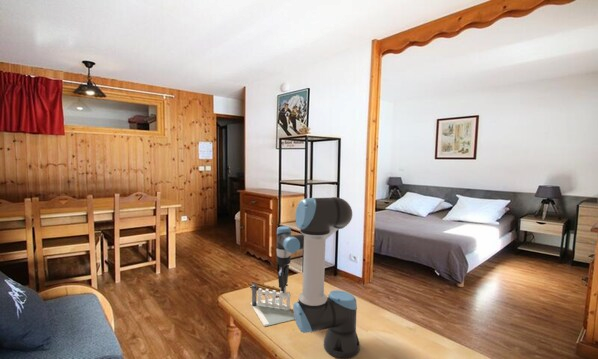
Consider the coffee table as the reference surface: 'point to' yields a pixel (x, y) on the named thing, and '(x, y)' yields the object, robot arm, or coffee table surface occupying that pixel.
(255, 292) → the corner post
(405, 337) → the coffee table surface
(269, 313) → the board
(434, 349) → the coffee table surface
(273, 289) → the decorative fence
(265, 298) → the fence panel
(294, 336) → the coffee table surface
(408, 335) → the coffee table surface
